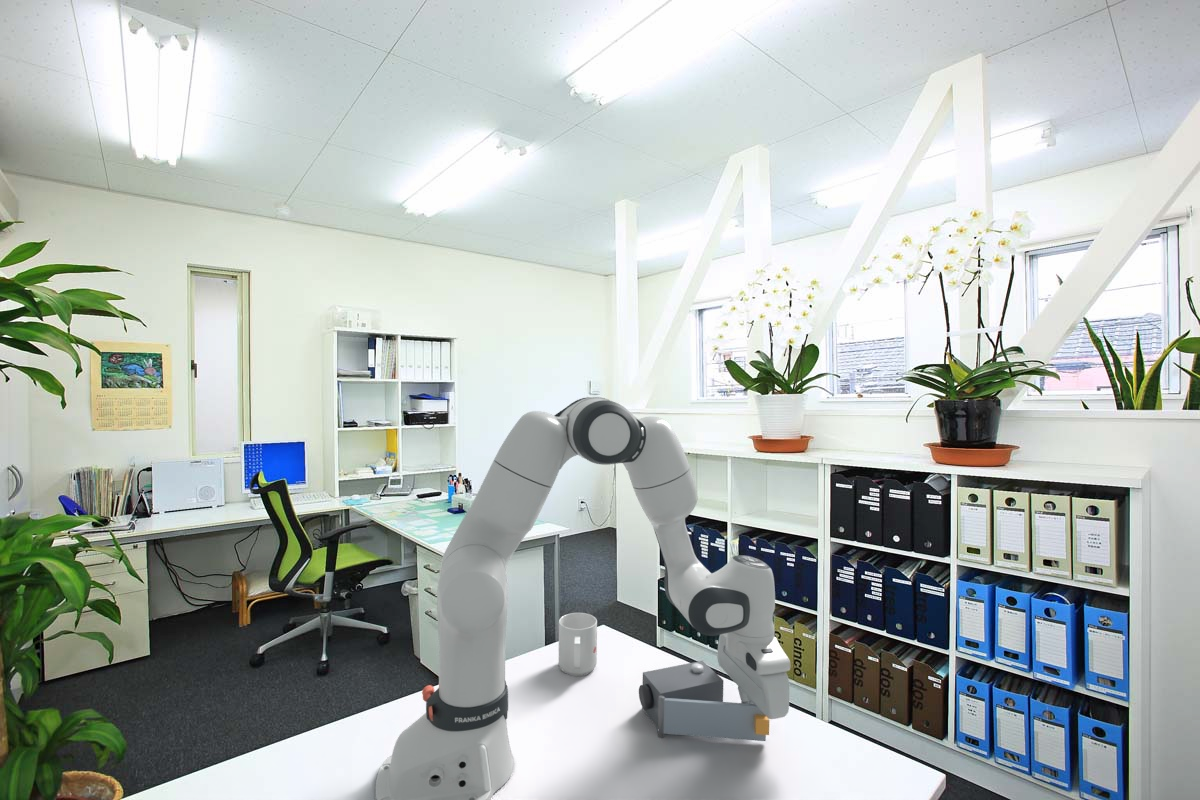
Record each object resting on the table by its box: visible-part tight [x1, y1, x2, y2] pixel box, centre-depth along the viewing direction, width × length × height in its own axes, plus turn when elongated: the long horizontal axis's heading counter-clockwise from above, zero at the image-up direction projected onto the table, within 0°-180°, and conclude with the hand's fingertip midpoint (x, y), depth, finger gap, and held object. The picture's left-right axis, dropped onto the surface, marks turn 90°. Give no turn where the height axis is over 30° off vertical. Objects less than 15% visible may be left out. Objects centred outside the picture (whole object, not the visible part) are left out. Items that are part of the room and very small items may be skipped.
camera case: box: [638, 660, 724, 730], centre depth 110 cm, size 15×8×8 cm, turn 111°
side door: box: [657, 696, 770, 742], centre depth 102 cm, size 20×2×7 cm, turn 84°
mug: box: [558, 612, 598, 677], centre depth 126 cm, size 12×9×11 cm
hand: (749, 712), depth 105 cm, fingers closed
